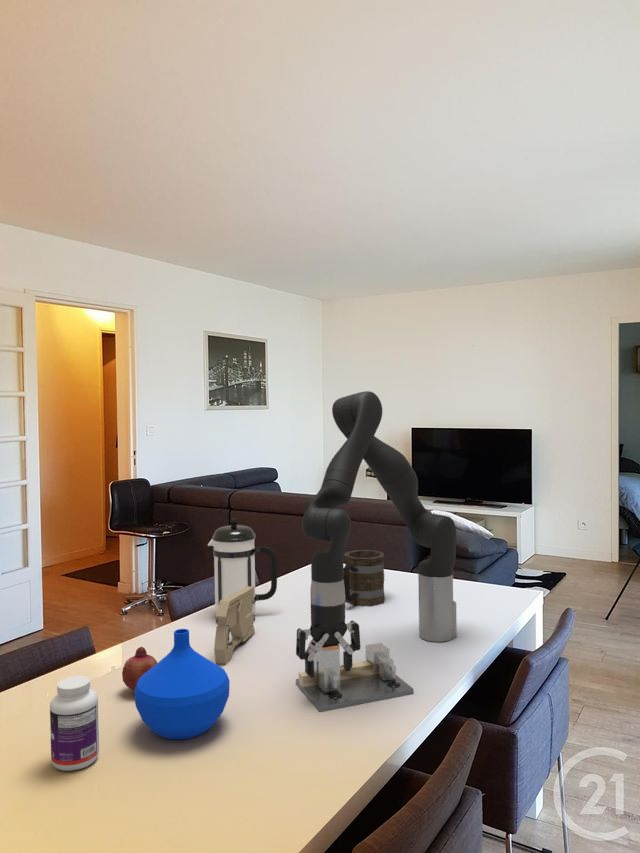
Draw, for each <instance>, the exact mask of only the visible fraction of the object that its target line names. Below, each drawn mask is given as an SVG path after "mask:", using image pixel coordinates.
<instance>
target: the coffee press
mask: <svg viewBox="0 0 640 853" xmlns="http://www.w3.org/2000/svg"><path fill="white" fill-rule="evenodd" d="M238 522H239V521H238V519H237V518H235V517H232V518H231V519H230V521H229V523H230V525H225V526H221V527H218V528H217V529H216V530H215V531H214V533H213V535H212V538H211V540H209V542H208V543H207V546H208V547H213V548H212V550H213V551H212V552H213V553H212V555H213V558H214V559H213V566H214V568H213V570H214V609H215V614H216V613H217V609H218V606H219V602H220V600H222V599H224V598H226V597H227V596H229V595H231V594H234V593H236V592H237V591H239V590H241V589H242V588H244V587H246V586H249V587H254V602H252V611H253V612H255V610H256V602H258V601H266V600H269V599H271V598H272V597H273V596H274V595H275V594H276V592H277V588H278V569H277V567H278V566H277V558H276V554H275V552H274V551H273V550H272V549H271V548H270V547H267V546H256V545H255V539H256V537H257V536H256V533H255V532H254V530H253V529H252V527H250V526H247V525H242V524H238ZM256 553H261V554H266V555H267V556H268V557H269V559H270V576H271V577H270V580H271V582H270V589H269V590H268V592H266V593H260V594H259V593H257V594H256V571H255V570H256V569H255V568H256V563H255V559H256V557H255V555H256ZM255 621H256V617H255V616H254V622H255ZM217 622H218V619H216V618H215V624H217Z"/></svg>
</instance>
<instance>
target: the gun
mask: <svg viewBox="0 0 640 853" xmlns="http://www.w3.org/2000/svg"><path fill="white" fill-rule="evenodd" d="M252 602H254V587H249V586H246V587H244V588H242V589H241V590H239V591H237V592H236V593H234V594H231V595H229V596H227V597H226V598H224V599H222V600H220V602H219V606H218V609H217V613H216V612H215V620H216V619H218V622H217V623H216V624H217V625H216V628H215V637H214V639H215V640H214V648H213V650H214V658H215V664H217V665H223V666H224V665H225V666H226V665H228V664H229V663H228V662H229V661H230V660H231V657H233V654H234V649H235V648H236V647H238V646H239V645H240V644H243V643H244V642H246V641H247V640H248V639H250V638H251V637H252V636H254V634H255V632H256V631H255V626H254V624H255V623H254V622H255V621H254V617H255V616H254V614H255V613H254V612H255V611H254V612H253V611H252ZM230 635H231V641H230Z"/></svg>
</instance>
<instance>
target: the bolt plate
mask: <svg viewBox="0 0 640 853" xmlns="http://www.w3.org/2000/svg"><path fill="white" fill-rule="evenodd" d="M295 684H296V686H297V687H298V689H299V690H301V692H302V693H303V694H304V696H306V698H307V699H308V700H309V701H310V702H311V704H312V705H313V706H314V707H315V708H316V710H317V711H318V712H319V713H320V712H326V711H331V710H336V709H342V708H346V707H351V706H356V705H361V704H367V703H371V702H378V701H381V700H382V701H383V700H387V699H393V698H397V697H402V696H407V695H408V696H409V695H412V694H414V688H413V687H412V686H411V685H409V684H408V683H407V682H406V681H404V680H403V679H402V678H400V677H399V676H398V675H397V674H396V684H392V679H390V680H383V679H382V678H381V677H379V674H374V675H368V676H363V677H357V678H352V679H346V680H341V681H340V690H338V694H337V695H334V694H333V691H332V692H326V693H325V692H324V691H323V690H322V689H321V688H320V687H319V684H318V685H313V686H307V687H302V686H301V685H300V684H299V678H296V679H295Z"/></svg>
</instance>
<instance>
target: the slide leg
mask: <svg viewBox="0 0 640 853" xmlns="http://www.w3.org/2000/svg"><path fill="white" fill-rule="evenodd" d="M340 646H341V645H340V644H335V645H329V646H323V647H321V649H320V651H319V652H318V653H316V655H315V656H314V658H313V661H314V672H315V673H316V681H317V682H318V681H319V687H320V688H321V689H322V690H323V691H324V692H325V693H326V692H332V691H333V694H334V695H337V694H338V690H340V665H341V654H340V653H341V651H340V649H341V648H340Z"/></svg>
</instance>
